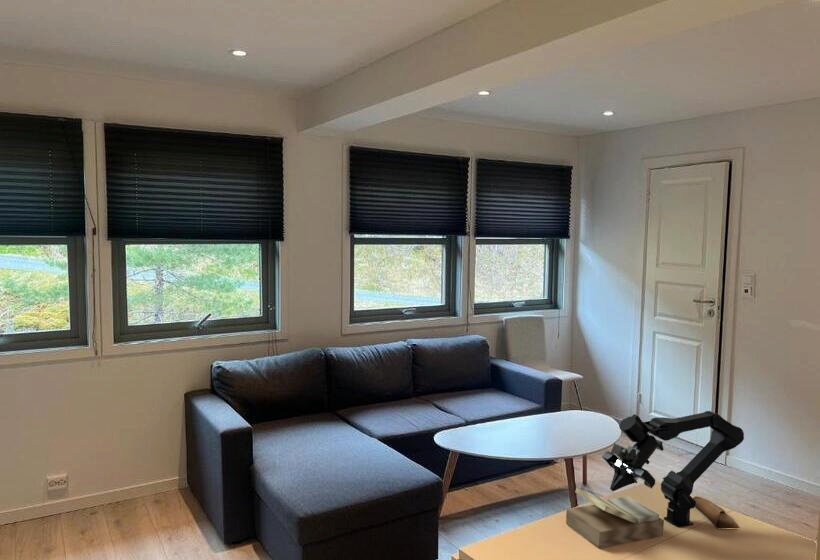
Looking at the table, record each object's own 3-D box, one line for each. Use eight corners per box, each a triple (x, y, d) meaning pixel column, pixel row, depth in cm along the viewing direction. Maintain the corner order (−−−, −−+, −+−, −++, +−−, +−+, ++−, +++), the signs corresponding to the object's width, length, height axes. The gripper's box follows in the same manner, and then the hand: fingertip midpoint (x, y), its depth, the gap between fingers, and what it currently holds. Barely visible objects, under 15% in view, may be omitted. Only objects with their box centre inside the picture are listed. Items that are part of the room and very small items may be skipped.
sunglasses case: (743, 529, 187) (733, 511, 187) (723, 540, 188) (713, 522, 187) (715, 504, 205) (706, 488, 205) (697, 514, 206) (687, 498, 205)
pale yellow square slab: (604, 504, 192) (606, 499, 192) (635, 523, 179) (637, 518, 179) (575, 492, 188) (576, 487, 188) (604, 510, 174) (606, 506, 175)
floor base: (626, 514, 197) (627, 494, 196) (663, 536, 182) (664, 515, 181) (565, 524, 188) (566, 504, 188) (598, 548, 173) (599, 527, 173)
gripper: (607, 426, 194) (578, 463, 190) (649, 444, 176) (617, 485, 173) (626, 448, 197) (597, 484, 193) (669, 468, 179) (638, 508, 176)
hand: (611, 490), depth 184 cm, fingers closed
